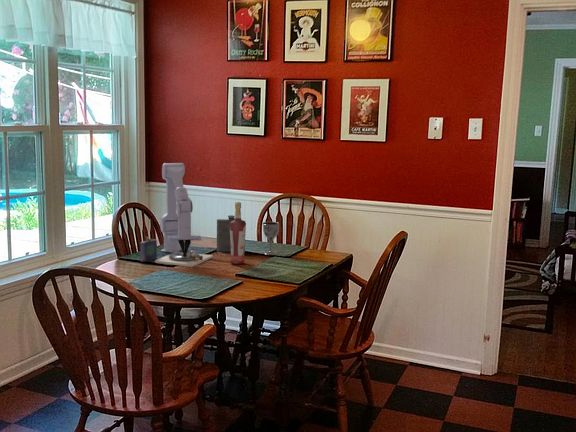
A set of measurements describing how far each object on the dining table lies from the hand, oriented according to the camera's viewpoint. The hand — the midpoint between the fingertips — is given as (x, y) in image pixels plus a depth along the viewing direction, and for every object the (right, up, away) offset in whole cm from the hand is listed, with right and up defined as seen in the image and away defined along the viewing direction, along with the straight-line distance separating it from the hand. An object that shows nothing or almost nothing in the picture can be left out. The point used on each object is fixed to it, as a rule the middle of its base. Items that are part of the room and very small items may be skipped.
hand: (184, 256), depth 276 cm
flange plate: (0, -1, +5) cm, 5 cm away
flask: (+19, 0, +25) cm, 31 cm away
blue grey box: (-17, -2, +5) cm, 18 cm away
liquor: (+24, -4, +1) cm, 24 cm away
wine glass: (+38, 0, +24) cm, 45 cm away
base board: (-1, -2, +6) cm, 6 cm away
